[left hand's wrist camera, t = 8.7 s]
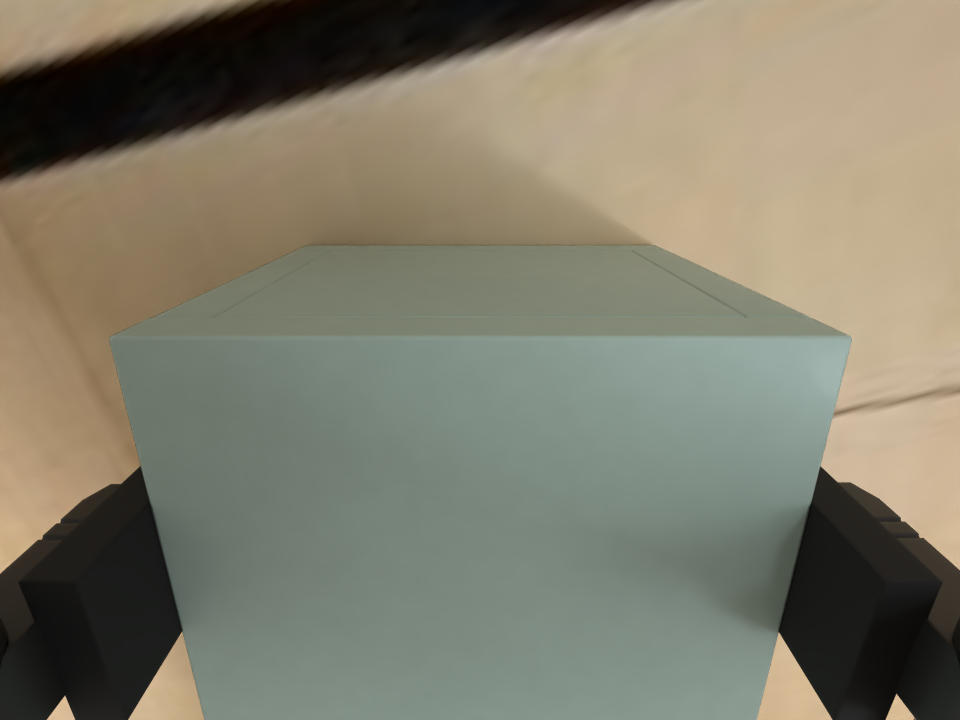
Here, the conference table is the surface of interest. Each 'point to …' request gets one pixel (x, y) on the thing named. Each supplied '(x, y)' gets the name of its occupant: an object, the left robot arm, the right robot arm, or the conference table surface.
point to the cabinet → (480, 481)
